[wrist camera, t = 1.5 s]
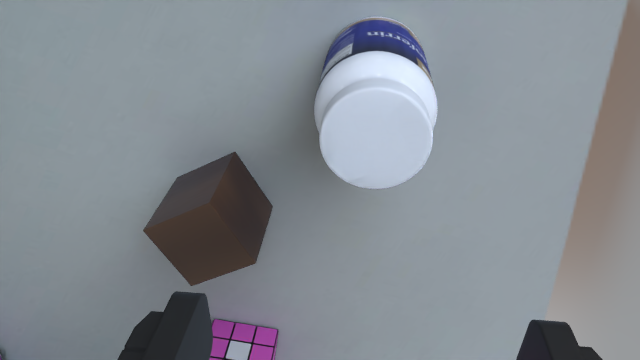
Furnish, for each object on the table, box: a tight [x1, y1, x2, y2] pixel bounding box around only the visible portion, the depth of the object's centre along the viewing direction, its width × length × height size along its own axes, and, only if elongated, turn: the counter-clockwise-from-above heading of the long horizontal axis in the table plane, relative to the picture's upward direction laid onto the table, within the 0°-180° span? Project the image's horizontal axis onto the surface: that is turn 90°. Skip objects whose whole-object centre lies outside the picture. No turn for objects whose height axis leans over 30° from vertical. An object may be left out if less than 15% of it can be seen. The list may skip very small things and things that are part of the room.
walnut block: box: [143, 152, 273, 286], centre depth 31 cm, size 5×5×6 cm
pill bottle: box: [314, 17, 437, 189], centre depth 24 cm, size 6×6×10 cm
